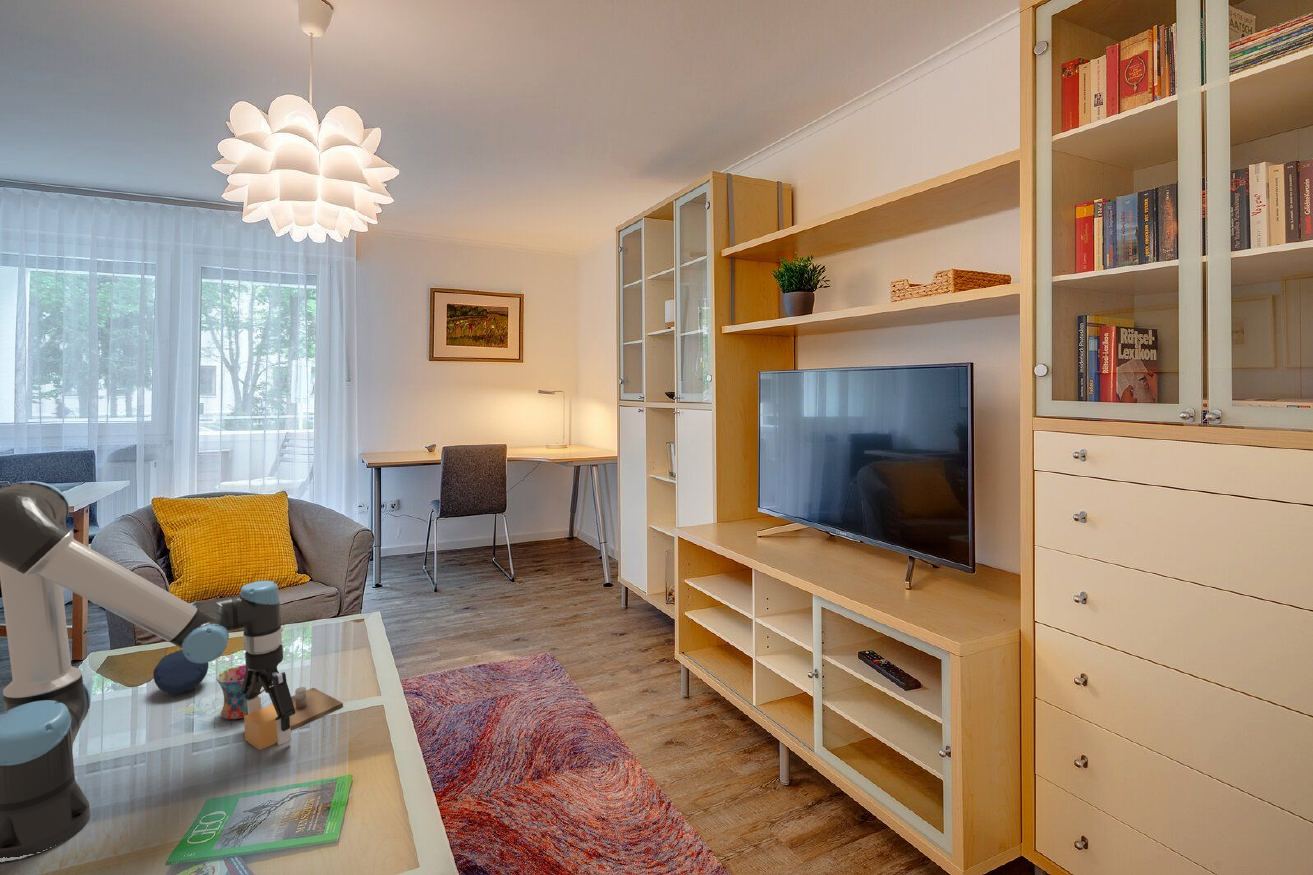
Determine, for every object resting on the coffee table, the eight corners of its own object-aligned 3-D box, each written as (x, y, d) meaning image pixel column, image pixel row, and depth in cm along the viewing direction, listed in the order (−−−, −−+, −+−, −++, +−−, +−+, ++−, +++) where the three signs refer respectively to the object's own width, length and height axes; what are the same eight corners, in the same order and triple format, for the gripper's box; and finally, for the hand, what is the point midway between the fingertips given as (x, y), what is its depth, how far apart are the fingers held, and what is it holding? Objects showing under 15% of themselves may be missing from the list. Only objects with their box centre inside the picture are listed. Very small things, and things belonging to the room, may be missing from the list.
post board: (287, 731, 155) (286, 709, 154) (259, 713, 162) (258, 692, 162) (342, 706, 167) (342, 686, 166) (313, 690, 174) (312, 671, 174)
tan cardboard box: (260, 750, 147) (258, 725, 147) (245, 739, 151) (244, 716, 150) (291, 735, 153) (290, 712, 152) (276, 726, 157) (275, 703, 156)
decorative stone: (153, 689, 174) (150, 654, 172) (206, 675, 181) (204, 642, 180) (156, 706, 165) (154, 669, 164) (212, 691, 173) (210, 656, 172)
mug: (217, 726, 156) (215, 685, 155) (219, 709, 164) (217, 669, 163) (274, 713, 163) (272, 674, 161) (274, 697, 170) (272, 659, 169)
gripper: (308, 655, 146) (313, 741, 148) (254, 629, 160) (260, 709, 162) (274, 668, 140) (280, 758, 142) (221, 640, 153) (227, 723, 156)
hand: (269, 732), depth 152 cm, fingers open, 13 cm apart
